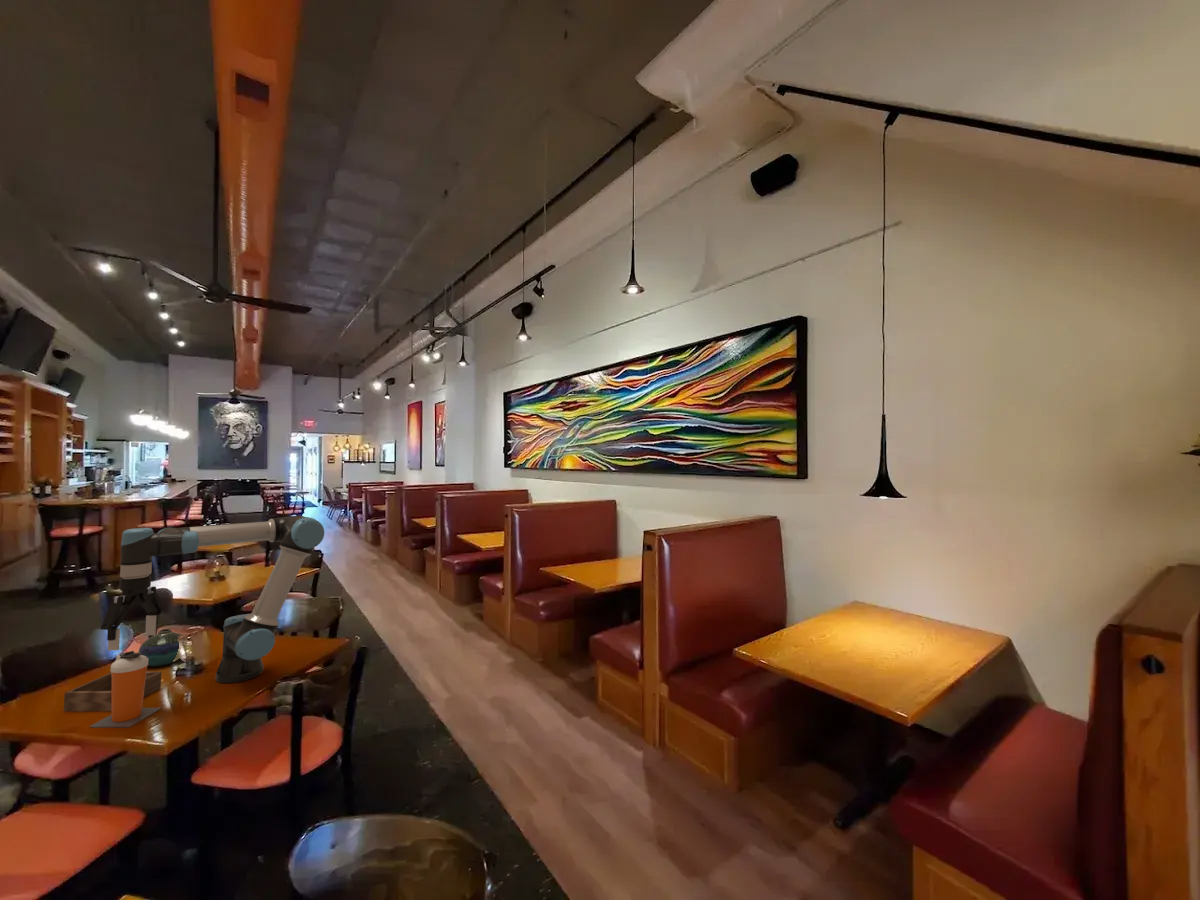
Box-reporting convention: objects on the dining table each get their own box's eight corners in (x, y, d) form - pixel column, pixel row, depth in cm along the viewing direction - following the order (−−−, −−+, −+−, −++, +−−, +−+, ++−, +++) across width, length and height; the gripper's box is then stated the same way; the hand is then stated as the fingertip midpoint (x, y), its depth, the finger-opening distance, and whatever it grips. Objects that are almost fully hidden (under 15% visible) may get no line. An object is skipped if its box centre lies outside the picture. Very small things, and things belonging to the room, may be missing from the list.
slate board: (161, 708, 166) (161, 707, 166) (129, 727, 154) (129, 726, 154) (123, 708, 165) (123, 707, 165) (88, 727, 153) (89, 726, 153)
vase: (140, 661, 205) (142, 628, 205) (188, 653, 214) (190, 622, 214) (134, 674, 192) (136, 639, 193) (185, 665, 201) (187, 632, 202)
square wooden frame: (160, 688, 181) (161, 671, 181) (118, 711, 164) (119, 692, 164) (111, 688, 180) (112, 671, 180) (63, 711, 163) (64, 692, 163)
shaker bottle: (121, 725, 154) (125, 660, 155) (99, 721, 156) (103, 657, 157) (152, 711, 163) (156, 650, 164) (131, 708, 165) (135, 647, 166)
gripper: (155, 568, 174) (152, 629, 173) (86, 585, 149) (82, 657, 148) (177, 568, 174) (175, 629, 173) (112, 585, 149) (109, 656, 149)
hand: (132, 642), depth 161 cm, fingers open, 13 cm apart
